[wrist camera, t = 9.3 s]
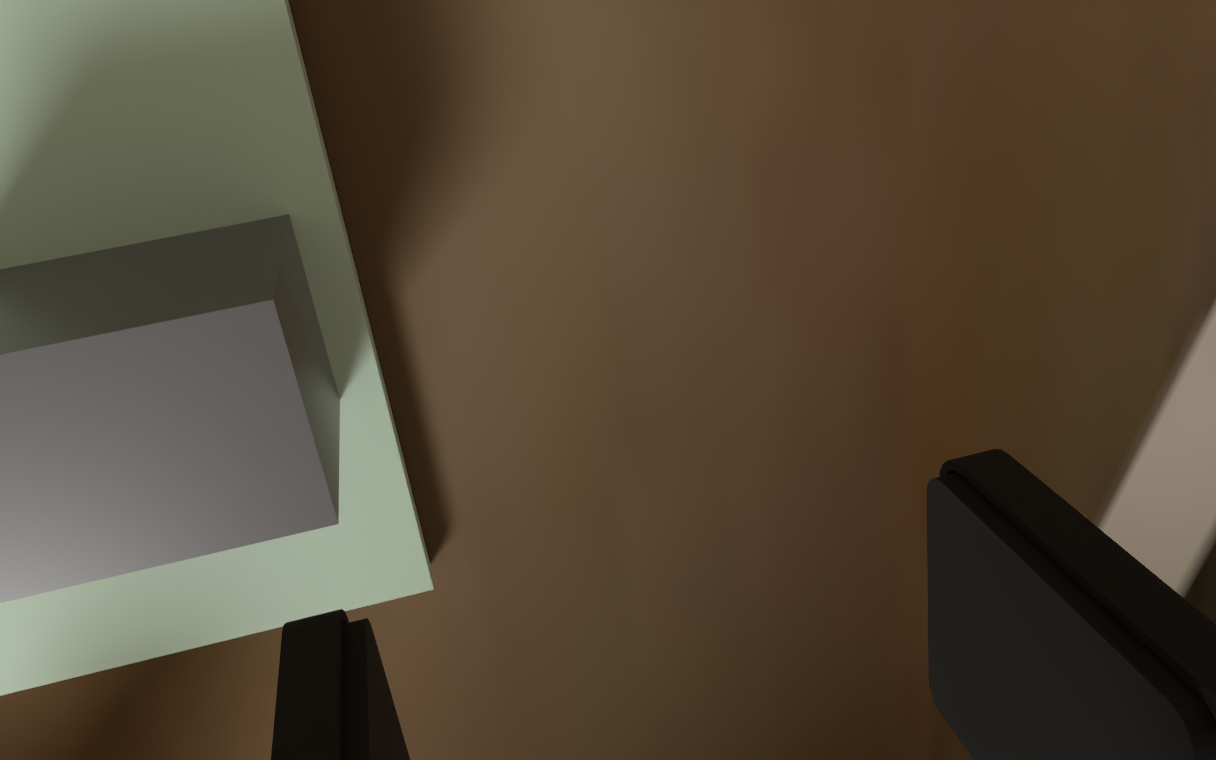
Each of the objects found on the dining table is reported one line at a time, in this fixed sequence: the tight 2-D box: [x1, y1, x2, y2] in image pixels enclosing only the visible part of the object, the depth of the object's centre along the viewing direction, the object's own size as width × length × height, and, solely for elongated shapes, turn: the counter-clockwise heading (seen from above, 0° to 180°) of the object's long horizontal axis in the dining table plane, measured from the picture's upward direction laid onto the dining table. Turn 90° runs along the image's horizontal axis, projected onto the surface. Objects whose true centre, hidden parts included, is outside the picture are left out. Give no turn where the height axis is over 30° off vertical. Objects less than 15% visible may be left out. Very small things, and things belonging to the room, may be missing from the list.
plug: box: [0, 214, 340, 603], centre depth 19 cm, size 4×6×5 cm, turn 98°
